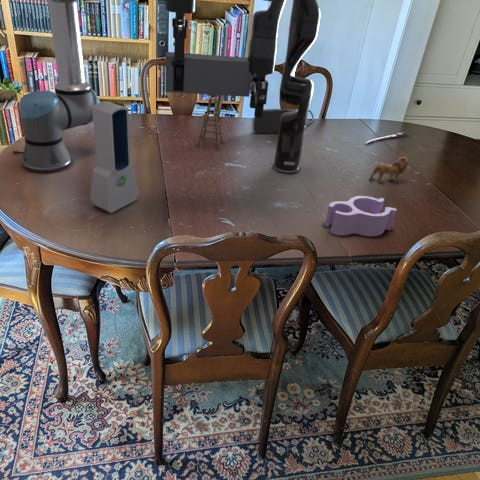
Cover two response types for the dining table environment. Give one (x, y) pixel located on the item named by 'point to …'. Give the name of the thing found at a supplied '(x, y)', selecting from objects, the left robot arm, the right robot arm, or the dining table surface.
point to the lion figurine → (391, 169)
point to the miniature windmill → (211, 120)
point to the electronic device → (112, 158)
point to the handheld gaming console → (269, 120)
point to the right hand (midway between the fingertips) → (255, 112)
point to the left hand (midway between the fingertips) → (178, 87)
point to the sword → (384, 137)
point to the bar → (211, 74)
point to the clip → (359, 216)
